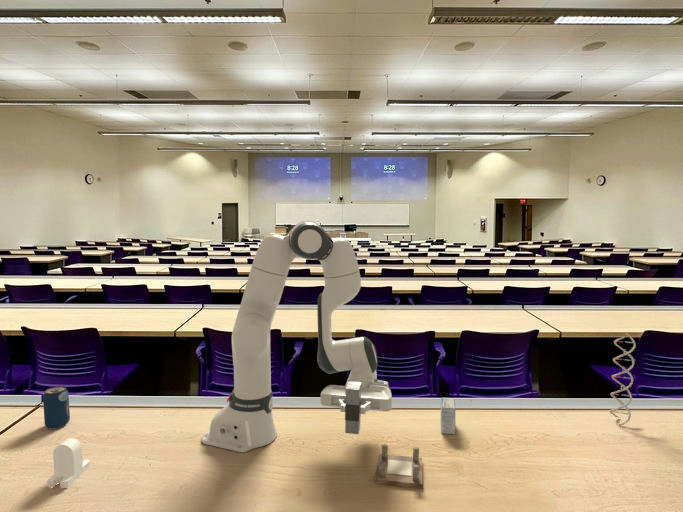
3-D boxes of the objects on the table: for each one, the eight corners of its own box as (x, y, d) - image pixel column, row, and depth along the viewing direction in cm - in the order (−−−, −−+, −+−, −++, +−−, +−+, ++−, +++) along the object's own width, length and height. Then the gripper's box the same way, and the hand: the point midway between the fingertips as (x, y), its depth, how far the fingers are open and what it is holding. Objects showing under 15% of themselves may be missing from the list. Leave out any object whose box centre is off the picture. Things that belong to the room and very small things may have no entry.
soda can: (74, 423, 142) (72, 388, 141) (51, 432, 136) (48, 395, 135) (63, 417, 146) (61, 383, 145) (40, 426, 140) (38, 390, 139)
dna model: (608, 416, 148) (614, 331, 146) (631, 421, 145) (637, 334, 142) (607, 423, 143) (612, 335, 140) (630, 429, 139) (636, 338, 136)
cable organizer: (46, 488, 108) (44, 451, 107) (72, 466, 118) (70, 431, 117) (67, 489, 108) (64, 451, 107) (91, 466, 118) (89, 431, 117)
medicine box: (455, 435, 135) (456, 408, 135) (440, 433, 136) (441, 407, 135) (453, 423, 143) (454, 398, 142) (440, 421, 144) (440, 397, 143)
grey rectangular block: (344, 434, 114) (345, 388, 113) (347, 425, 119) (348, 381, 118) (358, 435, 114) (359, 389, 113) (360, 426, 119) (361, 382, 118)
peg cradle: (375, 483, 111) (375, 466, 110) (379, 457, 122) (379, 442, 122) (422, 488, 109) (423, 471, 108) (421, 461, 120) (422, 446, 120)
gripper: (325, 377, 130) (315, 395, 117) (393, 382, 127) (390, 402, 113) (325, 397, 131) (314, 418, 117) (392, 402, 127) (390, 425, 114)
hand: (352, 410), depth 115 cm, fingers closed on grey rectangular block, 4 cm apart
